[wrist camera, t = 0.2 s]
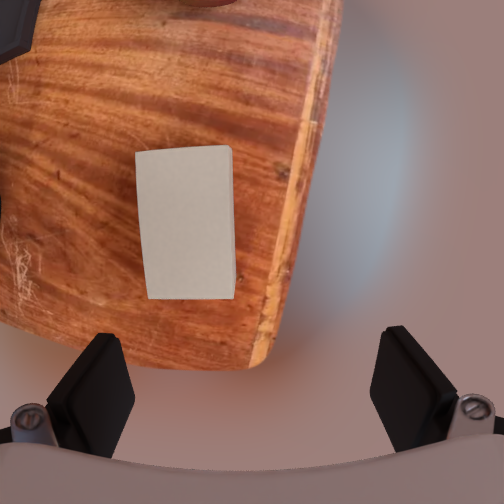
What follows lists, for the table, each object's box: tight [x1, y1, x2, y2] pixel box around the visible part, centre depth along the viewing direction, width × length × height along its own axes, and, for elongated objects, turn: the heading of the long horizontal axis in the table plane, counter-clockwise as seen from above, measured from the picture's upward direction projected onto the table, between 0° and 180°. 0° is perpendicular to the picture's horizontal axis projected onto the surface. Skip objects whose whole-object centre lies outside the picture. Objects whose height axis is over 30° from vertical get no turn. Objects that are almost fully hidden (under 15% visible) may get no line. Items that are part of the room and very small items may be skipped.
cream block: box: [135, 145, 236, 299], centre depth 22 cm, size 6×10×4 cm, turn 1°
